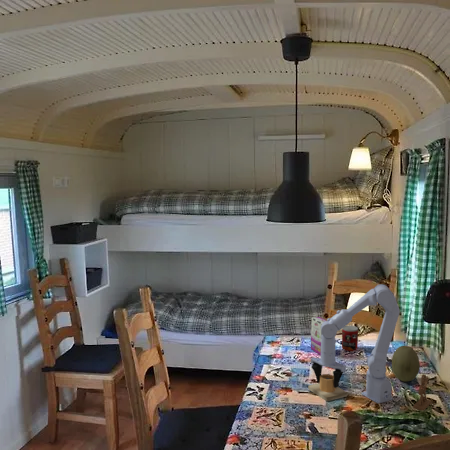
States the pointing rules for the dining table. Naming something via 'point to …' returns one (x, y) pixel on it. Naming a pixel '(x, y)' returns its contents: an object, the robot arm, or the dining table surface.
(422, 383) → the brown figurine
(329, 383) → the collar
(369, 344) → the dining table surface
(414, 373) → the fruit
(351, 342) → the canned food
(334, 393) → the base block
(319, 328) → the candy bar box
